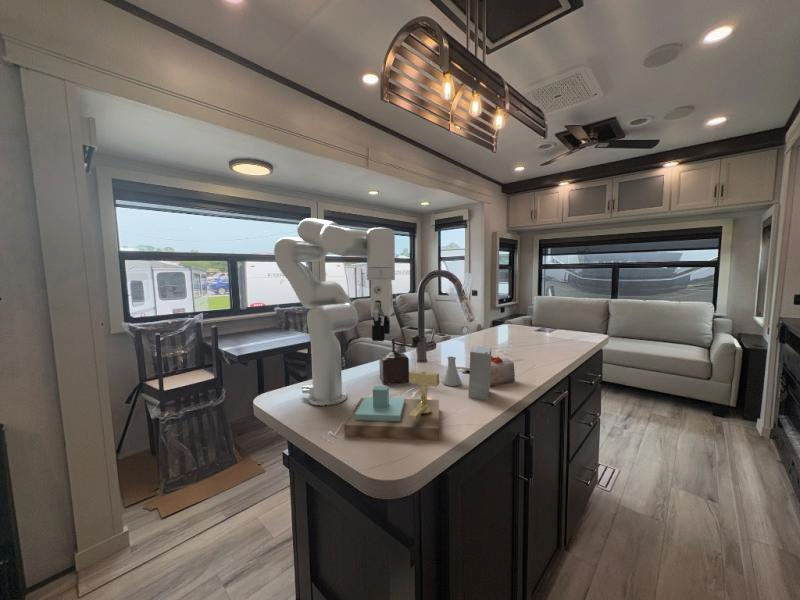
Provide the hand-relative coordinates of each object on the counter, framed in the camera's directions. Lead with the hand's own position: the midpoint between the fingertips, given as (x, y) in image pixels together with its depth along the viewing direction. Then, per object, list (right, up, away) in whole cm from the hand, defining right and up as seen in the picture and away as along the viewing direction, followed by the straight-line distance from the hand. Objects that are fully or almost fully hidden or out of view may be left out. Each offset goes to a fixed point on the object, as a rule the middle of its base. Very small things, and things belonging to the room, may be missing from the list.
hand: (381, 336), depth 86 cm
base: (+4, -24, +1) cm, 24 cm away
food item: (+41, -21, +32) cm, 56 cm away
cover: (0, -21, +1) cm, 21 cm away
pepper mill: (+5, -22, +38) cm, 44 cm away
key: (+10, -21, -3) cm, 23 cm away
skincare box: (+32, -22, +20) cm, 44 cm away
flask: (+25, -22, +32) cm, 46 cm away
